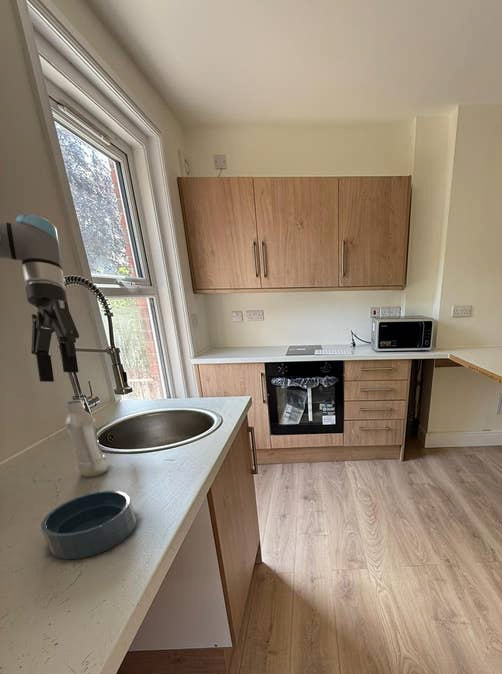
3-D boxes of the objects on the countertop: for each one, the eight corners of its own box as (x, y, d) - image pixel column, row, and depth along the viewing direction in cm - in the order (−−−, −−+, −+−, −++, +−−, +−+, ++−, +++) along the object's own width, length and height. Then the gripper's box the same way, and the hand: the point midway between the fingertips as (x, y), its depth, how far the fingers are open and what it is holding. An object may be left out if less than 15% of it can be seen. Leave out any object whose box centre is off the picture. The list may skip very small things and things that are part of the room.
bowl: (33, 565, 62) (21, 538, 60) (80, 515, 75) (72, 492, 73) (115, 560, 63) (106, 533, 60) (148, 512, 76) (142, 488, 74)
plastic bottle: (102, 465, 97) (81, 396, 89) (114, 472, 93) (94, 401, 85) (77, 475, 92) (52, 403, 84) (88, 483, 88) (64, 408, 80)
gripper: (88, 275, 79) (100, 368, 79) (44, 305, 92) (55, 385, 93) (48, 264, 72) (62, 366, 73) (7, 298, 86) (19, 384, 87)
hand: (58, 377), depth 83 cm, fingers open, 13 cm apart
